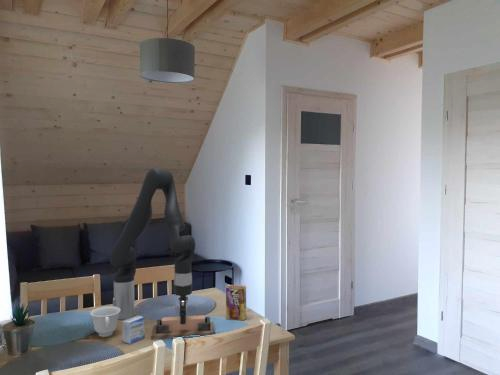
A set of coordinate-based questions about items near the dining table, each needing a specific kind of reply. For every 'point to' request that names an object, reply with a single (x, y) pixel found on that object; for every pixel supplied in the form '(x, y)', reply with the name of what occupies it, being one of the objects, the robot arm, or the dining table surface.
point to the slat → (190, 324)
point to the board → (163, 330)
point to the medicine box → (133, 329)
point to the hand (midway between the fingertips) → (183, 320)
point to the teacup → (105, 320)
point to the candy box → (236, 302)
